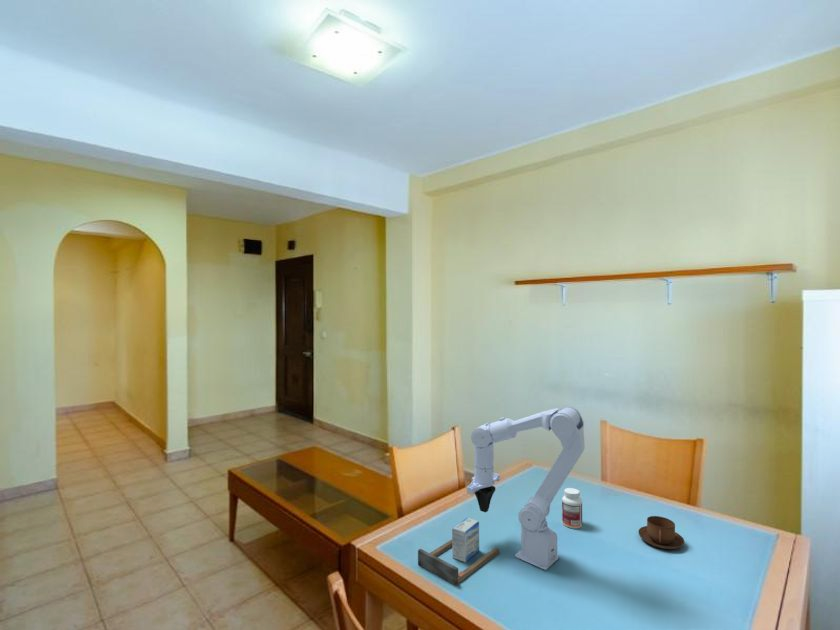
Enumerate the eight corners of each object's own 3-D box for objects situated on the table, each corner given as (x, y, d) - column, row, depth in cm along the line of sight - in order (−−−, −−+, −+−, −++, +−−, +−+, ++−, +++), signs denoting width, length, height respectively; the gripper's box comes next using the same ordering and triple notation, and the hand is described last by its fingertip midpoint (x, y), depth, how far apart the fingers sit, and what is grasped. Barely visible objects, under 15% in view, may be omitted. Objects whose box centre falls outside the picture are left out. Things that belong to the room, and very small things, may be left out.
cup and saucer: (691, 555, 122) (691, 533, 122) (645, 550, 125) (645, 529, 125) (675, 534, 134) (675, 514, 134) (633, 530, 137) (633, 510, 136)
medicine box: (465, 563, 119) (465, 532, 119) (451, 558, 121) (451, 527, 121) (479, 550, 125) (479, 521, 125) (466, 545, 128) (466, 516, 128)
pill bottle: (568, 517, 144) (568, 485, 144) (586, 525, 140) (586, 491, 139) (558, 523, 140) (558, 490, 140) (575, 531, 136) (575, 496, 135)
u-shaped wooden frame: (499, 552, 124) (499, 539, 124) (456, 585, 109) (455, 569, 109) (462, 536, 133) (462, 523, 133) (417, 564, 118) (417, 550, 118)
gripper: (486, 456, 138) (486, 498, 138) (458, 469, 127) (458, 514, 127) (505, 461, 133) (505, 505, 133) (478, 475, 122) (478, 522, 122)
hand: (484, 510), depth 130 cm, fingers closed
